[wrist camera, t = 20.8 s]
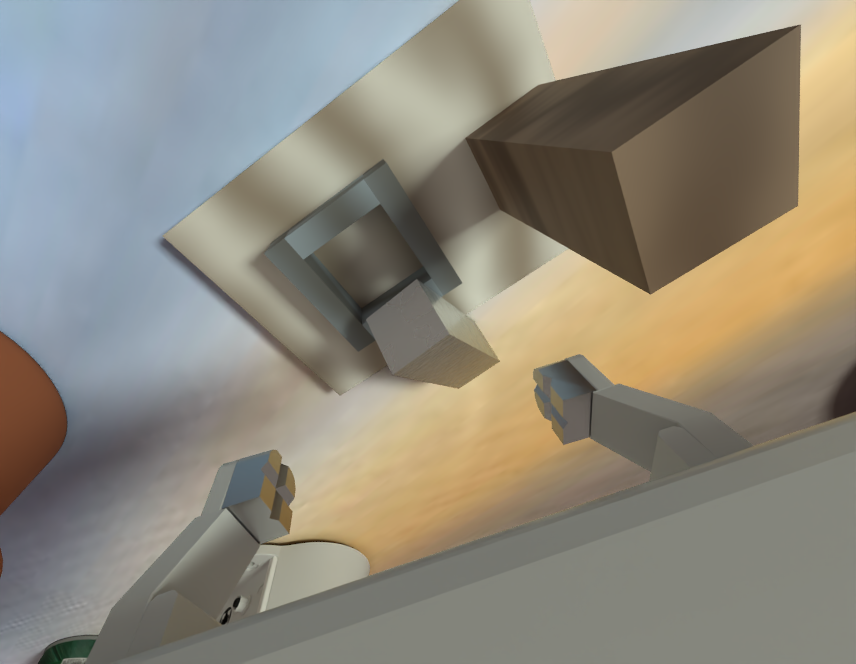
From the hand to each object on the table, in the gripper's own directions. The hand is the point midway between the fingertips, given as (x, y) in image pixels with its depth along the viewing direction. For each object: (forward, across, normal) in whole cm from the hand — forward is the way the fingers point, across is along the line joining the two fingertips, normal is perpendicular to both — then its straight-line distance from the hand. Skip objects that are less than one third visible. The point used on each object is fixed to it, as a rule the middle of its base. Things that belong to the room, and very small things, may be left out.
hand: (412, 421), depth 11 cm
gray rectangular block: (+9, -1, +2) cm, 10 cm away
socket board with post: (+17, -2, -2) cm, 17 cm away
